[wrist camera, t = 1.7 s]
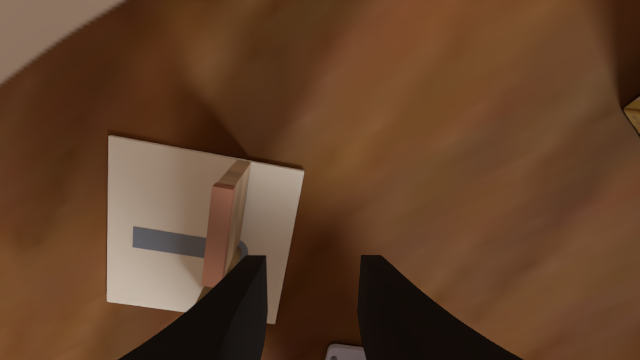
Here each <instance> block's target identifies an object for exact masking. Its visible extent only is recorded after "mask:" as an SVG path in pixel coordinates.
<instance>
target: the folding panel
mask: <svg viewBox="0 0 640 360" xmlns="http://www.w3.org/2000/svg"><path fill="white" fill-rule="evenodd" d="M250 166H251V163H250V162H245V161H239V160H237V161H236V162H235V163H234V164H233V165H232V166H231V167H230V168H229V169H228V171H227V172H226V173H225V174H224V175H223V176H222V177H221V178H220V180H219V181H218V182H216V183H215V184H214V185H213V186H212V191H211V201H210V210H209V219H208V228H207V238H206V247H205V256H204V265H203V274H202V284H201V286H206V287H214V286H215V285H216V284H217V283H218V282H220V281H221V280H222V279H223V278H224V277H225V274H226V272H227V270H228V267H229V265H230V263H231V260H232V258H233V256H234V253H235V251H236V248H237V246H238V244H239V241H240V237H241V230H242V223H243V216H244V209H245V202H246V195H247V187H248V180H249V173H250Z"/></svg>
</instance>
